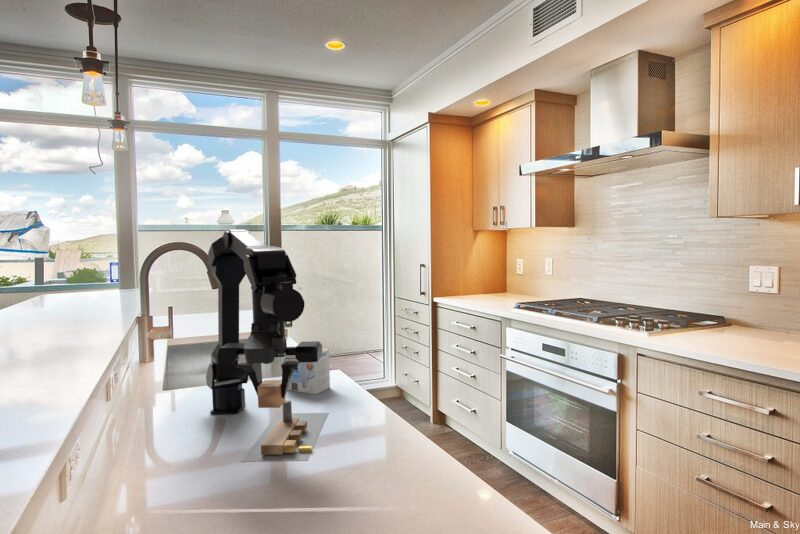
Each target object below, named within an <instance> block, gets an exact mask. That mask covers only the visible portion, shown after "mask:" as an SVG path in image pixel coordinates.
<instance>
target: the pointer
mask: <svg viewBox="0 0 800 534" xmlns="http://www.w3.org/2000/svg"><path fill="white" fill-rule="evenodd" d="M311 451H312V452H313V449H312V446H299V448H298V452H311ZM312 452H311V453H312Z"/></svg>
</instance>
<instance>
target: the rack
mask: <svg viewBox="0 0 800 534" xmlns="http://www.w3.org/2000/svg"><path fill="white" fill-rule="evenodd" d="M292 407H293V406H292V400H285V402H284V403H283V404H282V414H283V418H280V419H279V420H278V422H277V423H276V425H275V426H274V428H273V429H272V430H271V432H270V433H269V435H268V436H267V437H266V439H265V440H264V442H263V443H262V444H261V455H283V453H294V451H295V449H296V447H297V445H296V442H300V440H301V438H302V432H305V430H306V429H307V421H299V418H292V413H293V412H292V411H293V410H292V409H293V408H292Z"/></svg>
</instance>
